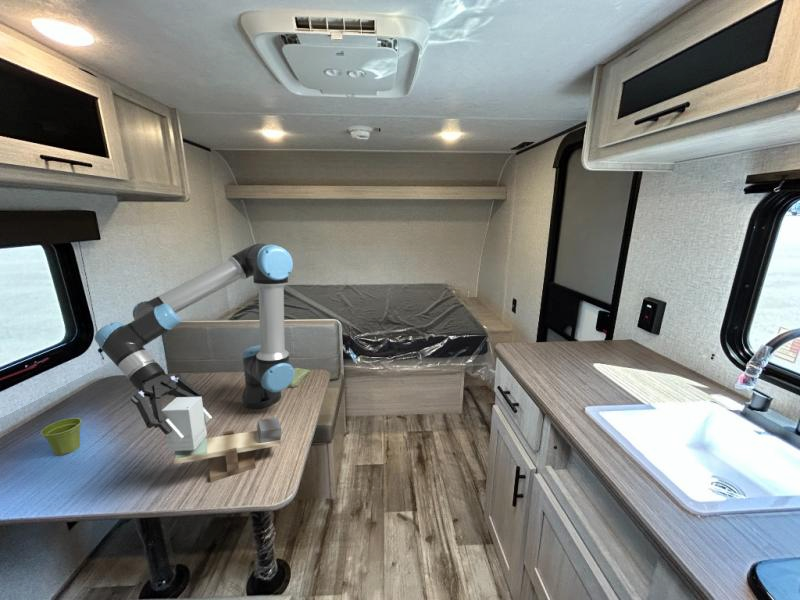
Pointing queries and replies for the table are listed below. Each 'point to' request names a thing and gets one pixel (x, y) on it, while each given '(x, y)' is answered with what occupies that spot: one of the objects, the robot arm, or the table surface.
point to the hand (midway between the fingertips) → (195, 429)
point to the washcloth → (298, 376)
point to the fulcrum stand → (230, 462)
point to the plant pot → (63, 435)
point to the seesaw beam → (235, 442)
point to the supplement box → (186, 422)
